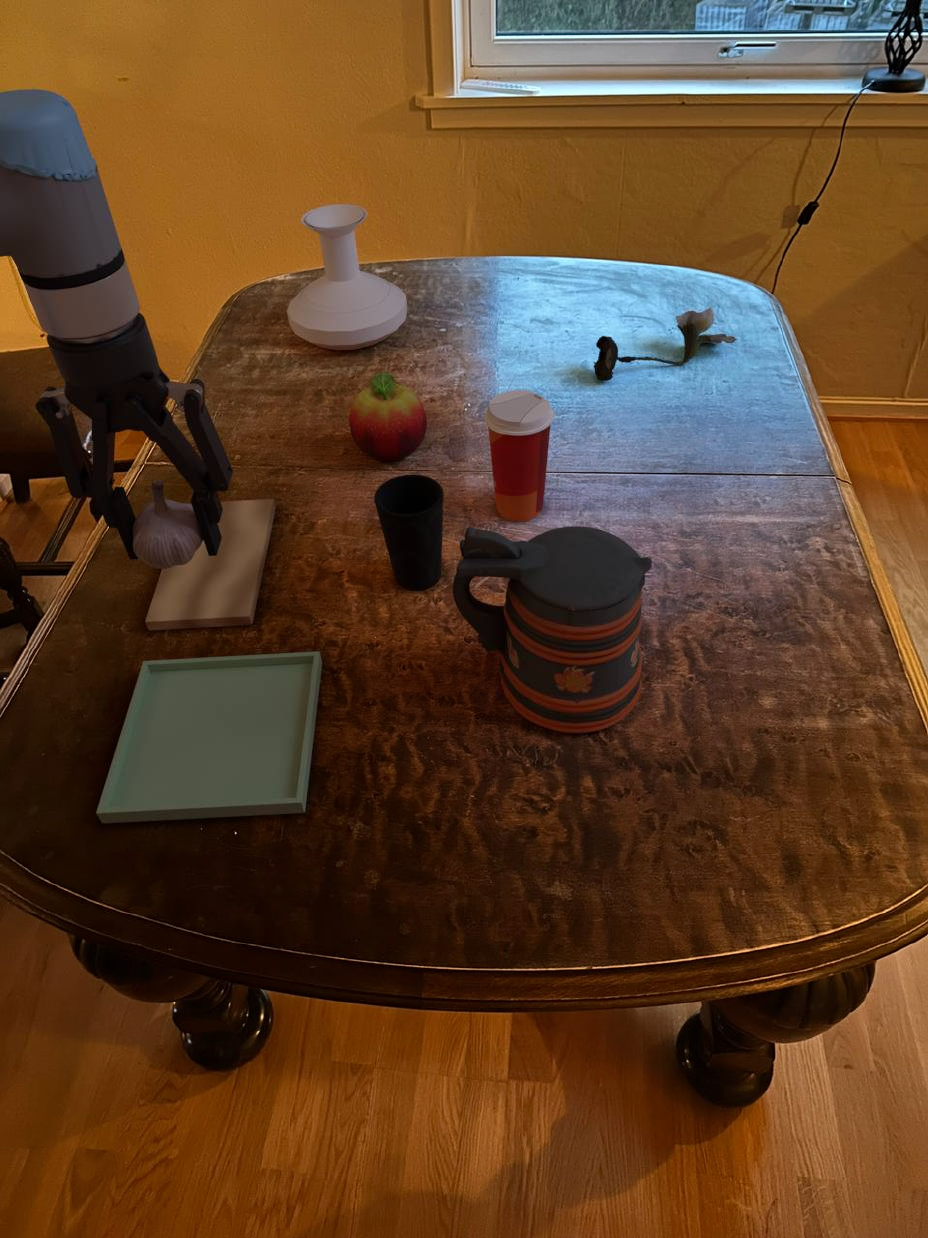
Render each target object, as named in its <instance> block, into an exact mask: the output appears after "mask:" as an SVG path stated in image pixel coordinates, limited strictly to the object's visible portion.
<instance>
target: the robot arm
mask: <svg viewBox="0 0 928 1238" xmlns="http://www.w3.org/2000/svg"><path fill="white" fill-rule="evenodd" d="M80 123H81V122H80V120H79V118H78V115H77V113H76V110H75V108H74V107H73V105H72V104H71V102H69V101H68V100H67V99H66V98H65V97H64V96H62V95H61V94H59V93H56V92H55V91H51V90H47V89H40V88H39V89H36V88H28V89H27V88H25V89H23V88H22V89H14V90H6V91H0V258H1V257H10V258H11V259H12V261H13V263H14V265H15V266H16V268H17V269H16V270H17V272H18V274H19V277H20V279H21V281H22V283H23V286H24V288H25V290H26V293H27V295H28V298H29V301H30V304H31V306H32V309H33V311H34V314H35V316H36V319H37V321H38V325H39V327H40V328H41V330H42V332H44V333H45V334H46V343H47V345H48V348H49V350H50V352H51V354H52V357H53V359H54V362H55V364H56V367H57V370H58V372H59V374H60V376H61V378H62V379H63V380H64V382H65V383H64V387H61V388H56V387H54V386H51V385H49V386H46V387H45V389H44V390H43V391H42V393H41V395H40V397H39V398H38V400H37V401H36V403H35V405H34V406H35V410H36V411H37V412H38V413H39V416H41V418H42V420H43V421H44V422H45V423H46V425H47V426H48V428H49V431H50V434H51V438H52V441H53V445H54V448H55V451H56V453H57V457H58V459H59V460H58V461H59V463H60V467H61V469H62V473H63V476H64V479H65V482H66V485H67V489H68V492H69V494H70V496H71V497H72V498H74V499H77V500H79V499H80V500H81V499H83V498H84V497H85V498H90V499H92V500H93V501H94V502H95V503H97V506H98V509H99V511H100V513H101V515H102V518H103V520H104V522H105V524H106V525H107V526H108V527H109V529H116V530H117V532H118V534H119V536H120V539H121V541H122V544H123V546H124V548H125V551H126V553H127V555H128V558H129V560H130V561H131V560H139V558H138V557H137V556H136V554H135V552H134V550H133V540H134V539H133V533H132V529H133V524H134V521H135V519H136V518H137V516H136V515H135V512H134V510H133V508H132V505H131V502H130V500H129V497H128V494H127V491H126V490H125V487H124V486H115V487H114V489H113V485H114V484H115V482H116V478H114V475H115V451H116V449H115V448H116V433H121V432H126V431H134V432H143V433H144V435H145V436H146V437H147V439H148V440H149V441H150V442H152V443H156V445H157V446H158V447H159V449H160V450H161V451H162V452H163V454H164V455H165V456H166V457H167V458H168V460H169V461H170V462H171V464H172V466H174V467H175V469H176V470H177V471H178V473H179V474H180V475H181V477H182V478H183V479H184V480H185V482H186V483H187V484H188V485H189V486H190V488H191V489H192V490H193V493H192V496H191V498H190V504H192V507H193V510H194V513H195V516H196V519H197V522H198V525H199V528H200V531H201V534H202V537H203V540H204V543H205V546H206V549H207V552H208V555H209V556H217V553H218V549H219V546H220V543H221V539H222V536H221V533H220V530H219V526H218V523H219V522H220V519H221V515H222V511H223V508H222V505H221V502H222V501H221V497H220V495H219V492H222V493H224V492H227V491H228V490H229V487H230V484H231V480H232V478H233V477H232V476H233V474H234V470H233V466H232V465H231V463H230V459H229V458H228V455H227V452H226V450H225V448H224V446H223V445H224V444H223V442H222V440H221V438H220V436H219V434H218V431H217V429H216V426H215V424H214V422H213V419H212V417H211V415H210V412H209V410H208V407H207V405H206V385H205V383H204V381H203V380H201V379H200V378H193V379H191V380H190V381H189V383H185V382H179V381H172V380H171V379H170V378H169V376H168V375H167V374H166V373H165V372H164V370H163V369H162V368H161V366H160V364H159V359H158V356H157V352H156V349H155V346H154V342H153V340H152V337H151V333H150V330H149V327H148V324H147V321H146V318H145V316H144V315H143V314H142V313H141V312H140V310H141V303H140V300H139V297H138V294H137V291H136V288H135V285H134V282H133V278H132V275H131V272H130V269H129V266H128V263H127V259H126V258H125V254H124V250H123V248H122V244H121V241H120V238H119V235H118V231H117V229H116V226H115V221H114V219H113V218H114V217H113V215H112V212H111V209H110V206H109V202H108V199H107V195H106V192H105V189H104V186H103V182H102V180H101V176H100V172H99V169H98V164H97V161H96V159H95V158H94V157H93V155H92V153H91V150H90V147H89V145H88V142H87V139H86V137H85V134H84V131H83V128H82V126H81V124H80ZM168 398H170V399H172V400H173V401H174V402H175V404H176V406H177V410H178V411H179V412H180V413H184V419H185V422H186V425H187V428H188V430H189V432H190V435H191V437H192V439H193V441H194V444H195V446H196V448H197V450H198V452H199V453H198V452H197V450H195V448H194V447H193V445H192V444H191V443H190V441H189V440H188V439H187V437H186V435H184V434H183V432H182V431H181V429H180V428H179V427H178V425H177V424H176V423H175V421H174V417H173V415H172V412H170V410H169V409H168V408H167V406H166V405H165V403H166V402H167V399H168ZM73 407H75V408H76V409H78V410H79V411H80V412H82V414H84V415H85V416H87V417H88V418H89V419H90V420H91V435H90V437H91V441H92V474H91V472H90V468H89V465H88V461H87V458H86V455H85V451H84V447H83V444H82V441H81V437H80V433H79V430H78V427H77V423H76V420H75V416H74V413H73V411H72V410H73Z"/></svg>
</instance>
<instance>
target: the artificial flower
mask: <svg viewBox="0 0 928 1238" xmlns="http://www.w3.org/2000/svg"><path fill="white" fill-rule="evenodd" d="M675 321H676V323H677V325H676V327H677V329H678V330H679V331H680V332H681V334H682V336H683V342H684V353H683V359H682V361H674V360H669V359H661V358H658V357H652V356H643V357H642V356H638V357H637V356H631V355H626V356H622V357H620V356H619V348H618V345H617V343H616V342H615V340H614V339H613V337H612V336H607V335H602V336H601V337H599V338H598V340H597V341H596V343H595V347H596V348H597V349H599V352H598V357H597V361H593V362H592V363H593V364H594V365H593V366H592V367H593V371H594V375H595V377H596V379H597V380H599V381H604V382H608V381H610V380H612V379H613V378H614V376H613V375H614V372H613V371H614V370H615V367H616V364H617V362H618V361H619V362H620V363H625V364H626V363H627V364H629V363H632V362H634V361H644V362H645V361H648V362H651V361H654V362H659V363H662V364H668V365H674V366H684V365H685V364H686V363H688V362H689V361H690V360H692V359H693V358H695V357H696V356H697V355H698V353H699V348H700V346H701V345H702V344H705V343H712V344H717V345H720V344H723V342H724V343H726V344H734V343H735V341H737V340H738V339H737V338H736V337H735V336H733V335H728V336H727V335H726V333H717V334H711V333H707V334H705V333H706V332H707V331H708V330H709V329H710V328H711V327H712V326H713V325H714V321H715V314H714V311H713V308H712V306H710V307H709V308H707V309H705V310H703V311H700V312H698V311H695V310H687V311H686V312H684V313H682V314H680V315H676V316H675ZM702 333H703V334H702Z"/></svg>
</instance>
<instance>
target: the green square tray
mask: <svg viewBox="0 0 928 1238" xmlns="http://www.w3.org/2000/svg"><path fill="white" fill-rule="evenodd" d="M322 667H323V659H322V655H321V652H320V651H300V652H284V653H282V652H281V653H264V654H247V655H246V654H245V655H244V654H243V655H228V656H209V657H192V658H176V659H175V658H173V659H156V660H143V661H142V665H141V667H140V671H139V674H138V677H137V680H136V682H135V686H134V690H133V693H132V697H131V699H130V702H129V706H128V709H127V712H126V716H125V719H124V722H123V726H122V728H121V732H120V735H119V738H118V742H117V745H116V748H115V751H114V754H113V757H112V760H111V764H110V768H109V770H108V774H107V776H106V780H105V784H104V785H103V786H104V787H103V789H102V792H101V796H100V799H99V803H98V805H97V808H96V812H95V814H96V816H97V817H98V819H99V820H100V822H101V824H120V823H138V822H139V823H140V822H157V821H177V820H198V819H216V818H217V819H218V818H234V817H254V816H273V815H274V816H275V815H287V814H288V815H290V814H291V815H293V814H305V813H306V807H307V798H308V791H309V789H308V788H309V780H310V773H311V764H312V754H313V745H314V739H315V730H316V729H315V728H316V721H317V720H316V719H317V712H318V703H319V695H320V694H319V693H320V685H321V678H322V677H321V676H322V669H323V668H322Z"/></svg>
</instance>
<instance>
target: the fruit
mask: <svg viewBox="0 0 928 1238" xmlns="http://www.w3.org/2000/svg"><path fill="white" fill-rule="evenodd" d="M370 385H371V386H369V387H367V388H365V389H363V390H362V391H360V392H359V393H357V395H356V396H355V397H354V400H353V402H352V404H351V406H350V412H349V417H348V422H349V423H348V424H349V430H350V435H351V437H352V439H353V442H354V444H356V446H357V447H358V448H359V449H360V450H361V451H362V452H363V454H365V455H367V456H369V457H370V458H373V459H374V460H379V461H382V462H393V461H394V462H395V461H400V460H403V459H405V458H407V457H408V456H410V455H412V454H413V453H414V452H415V451H416V450H417V449H418V448H419V447H420V446H421V445H422V443H423V441H424V439H425V436H426V433H427V428H428V417H427V415H426V414H427V413H426V411H425V408H424V407H425V406H424V405H423V402H422V401H421V399H420V397H419V396H418V394H417V393H416V392H415V391H413V390H412V389H410V388H408V387H407V386H404V385H402V384H398V383H395V377H394V376H393V375H391V374H389V373H388V372H386V371H385V370H383V371H381V372H380V373H378V374H377V375H375V376H373V377H372V378H371V380H370Z"/></svg>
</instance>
